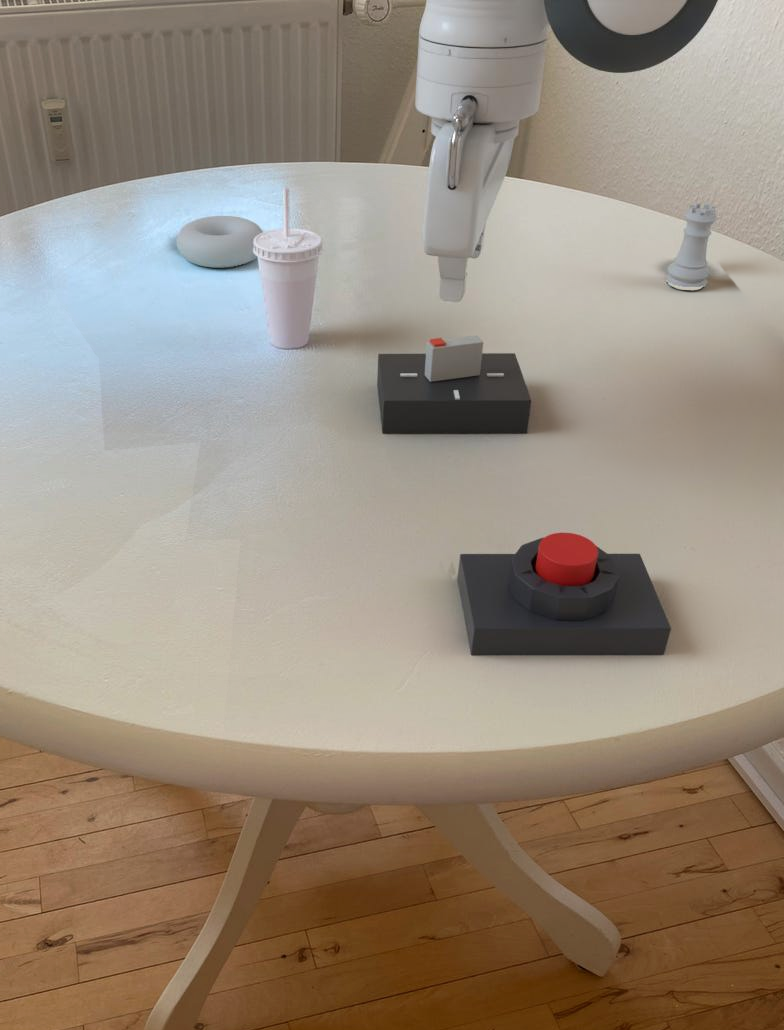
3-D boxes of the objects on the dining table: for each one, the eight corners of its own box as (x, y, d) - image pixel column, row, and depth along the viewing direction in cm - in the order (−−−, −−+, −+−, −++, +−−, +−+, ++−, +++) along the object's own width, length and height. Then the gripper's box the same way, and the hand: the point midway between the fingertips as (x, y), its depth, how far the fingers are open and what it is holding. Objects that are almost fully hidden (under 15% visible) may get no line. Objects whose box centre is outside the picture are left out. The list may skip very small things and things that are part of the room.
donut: (165, 250, 122) (195, 277, 115) (163, 219, 120) (192, 245, 113) (246, 237, 125) (279, 263, 118) (245, 207, 123) (278, 232, 116)
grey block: (473, 368, 90) (477, 332, 88) (480, 375, 89) (484, 339, 87) (424, 375, 89) (426, 338, 87) (430, 382, 88) (432, 345, 86)
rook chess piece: (655, 284, 113) (671, 206, 108) (678, 273, 115) (695, 197, 110) (692, 295, 110) (711, 217, 105) (715, 284, 113) (734, 207, 107)
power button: (587, 554, 68) (591, 532, 67) (599, 588, 65) (603, 565, 64) (531, 554, 68) (534, 532, 67) (540, 588, 65) (544, 565, 64)
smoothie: (315, 325, 105) (316, 177, 96) (328, 352, 100) (329, 198, 91) (252, 329, 104) (246, 181, 95) (261, 357, 99) (256, 203, 90)
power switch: (633, 579, 72) (645, 530, 69) (664, 655, 66) (678, 605, 63) (457, 580, 72) (462, 530, 69) (470, 656, 66) (477, 605, 63)
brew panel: (511, 384, 95) (515, 351, 93) (527, 433, 88) (532, 398, 86) (376, 385, 95) (378, 351, 93) (382, 433, 88) (383, 398, 86)
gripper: (505, 121, 67) (483, 332, 75) (537, 55, 82) (515, 236, 91) (407, 115, 68) (396, 323, 77) (456, 51, 83) (442, 230, 92)
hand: (461, 275), depth 84 cm, fingers open, 8 cm apart
